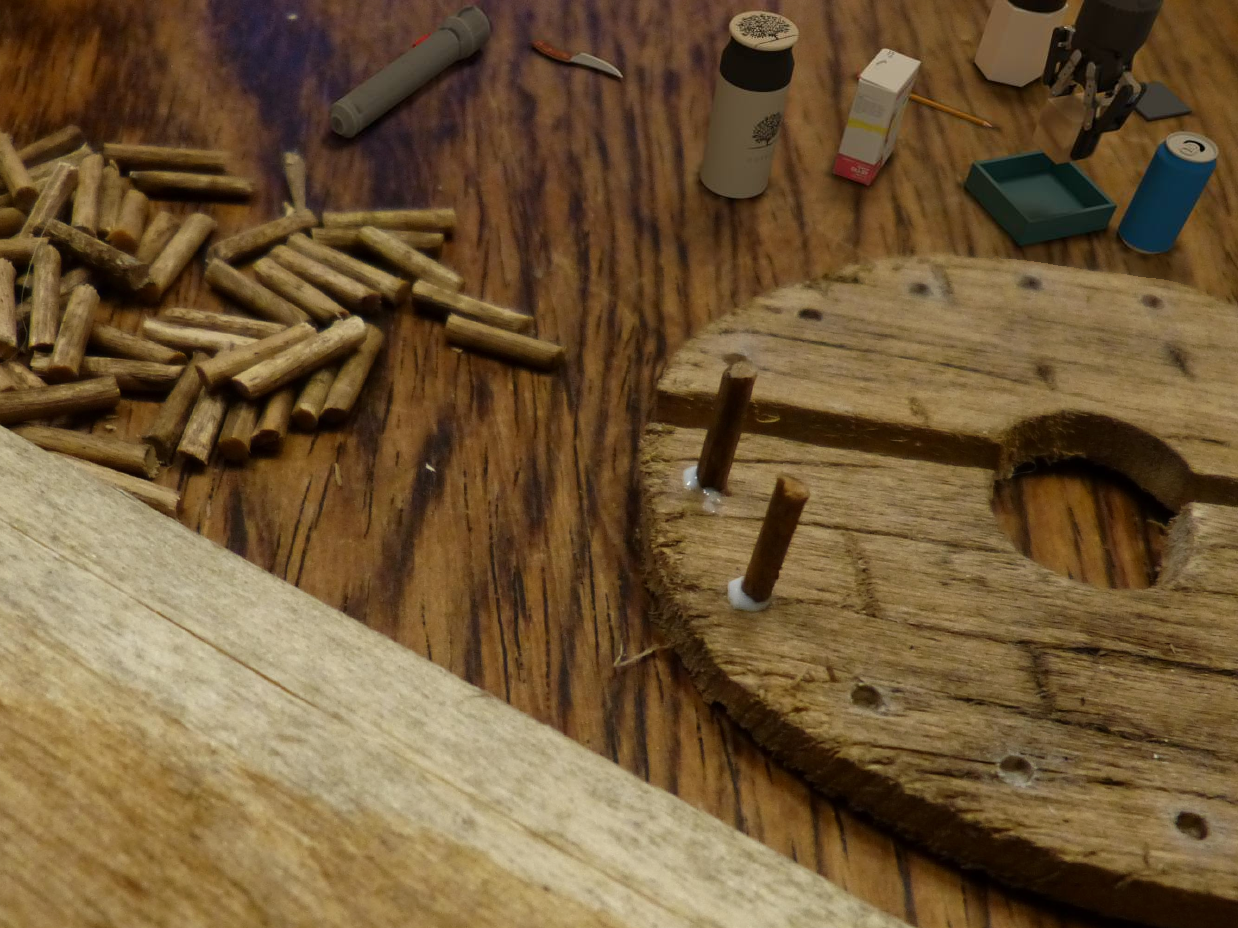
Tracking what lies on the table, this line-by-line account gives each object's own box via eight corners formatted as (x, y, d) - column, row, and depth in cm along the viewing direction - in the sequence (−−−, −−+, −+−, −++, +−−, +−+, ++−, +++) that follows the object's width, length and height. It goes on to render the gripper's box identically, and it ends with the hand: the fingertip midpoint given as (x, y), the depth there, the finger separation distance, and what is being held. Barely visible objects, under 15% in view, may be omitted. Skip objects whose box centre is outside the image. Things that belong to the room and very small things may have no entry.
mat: (1190, 113, 165) (1192, 110, 165) (1147, 120, 163) (1148, 117, 163) (1158, 84, 169) (1159, 81, 168) (1115, 91, 167) (1116, 88, 167)
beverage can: (1181, 243, 148) (1233, 148, 138) (1153, 265, 145) (1204, 170, 136) (1133, 217, 151) (1181, 122, 141) (1104, 238, 148) (1151, 143, 138)
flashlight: (346, 154, 150) (315, 123, 149) (482, 53, 164) (454, 24, 163) (359, 126, 146) (327, 93, 145) (497, 25, 159) (468, -5, 159)
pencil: (856, 80, 165) (857, 74, 164) (858, 78, 165) (860, 72, 165) (992, 132, 160) (995, 126, 159) (994, 129, 160) (997, 123, 160)
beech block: (1092, 157, 143) (1111, 115, 139) (1056, 164, 142) (1073, 122, 138) (1067, 133, 146) (1084, 91, 142) (1030, 140, 145) (1047, 98, 141)
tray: (1106, 228, 149) (1117, 205, 146) (1019, 246, 146) (1029, 222, 143) (1048, 170, 155) (1058, 146, 153) (963, 185, 152) (972, 162, 150)
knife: (631, 66, 161) (622, 76, 160) (631, 70, 162) (621, 81, 160) (538, 36, 164) (528, 46, 162) (538, 40, 165) (527, 50, 163)
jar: (1001, 45, 172) (1034, -48, 162) (1051, 72, 169) (1088, -21, 159) (961, 66, 168) (993, -28, 158) (1012, 94, 165) (1048, 0, 155)
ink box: (868, 187, 151) (897, 92, 141) (830, 173, 152) (856, 78, 142) (893, 153, 155) (923, 59, 145) (856, 140, 156) (883, 45, 147)
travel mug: (688, 167, 151) (714, 14, 136) (748, 156, 153) (780, 5, 138) (717, 205, 147) (747, 52, 132) (778, 194, 149) (814, 42, 134)
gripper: (1201, 19, 127) (1128, 174, 141) (1115, -47, 135) (1054, 106, 148) (1140, 29, 125) (1072, 185, 139) (1057, -39, 133) (1000, 115, 147)
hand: (1063, 143), depth 144 cm, fingers closed on beech block, 5 cm apart
